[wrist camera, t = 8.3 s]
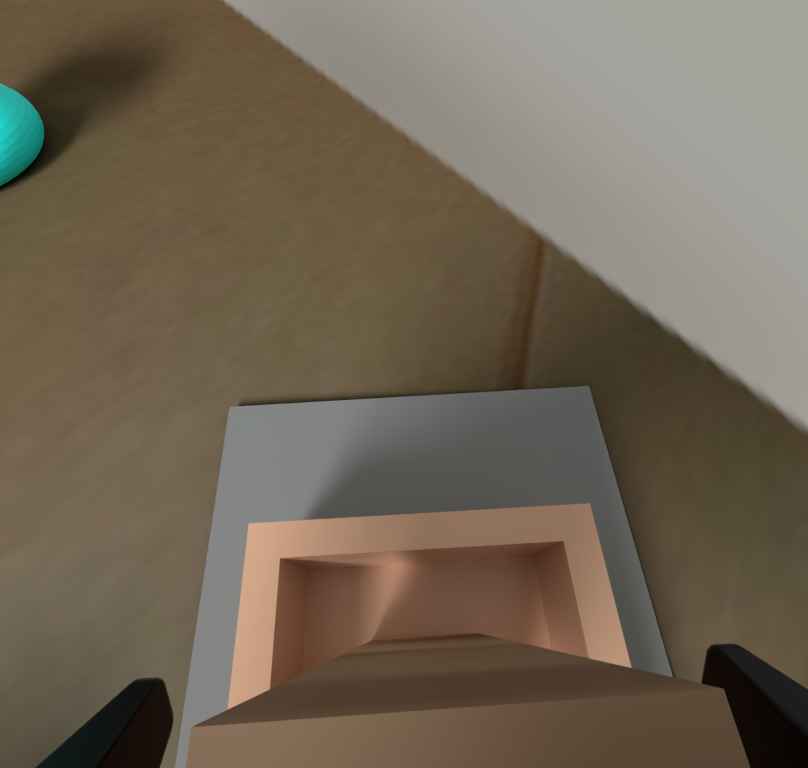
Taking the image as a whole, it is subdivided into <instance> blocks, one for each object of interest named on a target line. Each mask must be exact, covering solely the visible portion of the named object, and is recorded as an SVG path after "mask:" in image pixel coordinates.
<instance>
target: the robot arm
mask: <svg viewBox="0 0 808 768" xmlns="http://www.w3.org/2000/svg"><path fill="white" fill-rule="evenodd" d="M701 683H702V684H705V685H709V686H713V687H718V688H722V689H724V691H725V694H726V697H727V700H728V703H729V706H730V709H731V712H732V715H733V718H734V721H735V723H736V726H737V729H738V732H739V735H740V738H741V741H742V744H743V747H744V750H745V753H746V756H747V759H748V762H749V765H750V768H808V689H806V688H805V687H803V686H802V685H800V684H799V683H797V682H796V681H794V680H792V679H791V678H789V677H788V676H786V675H785V674H783V673H782V672H780V671H778V670H777V669H775V668H774V667H772V666H771V665H769V664H768V663H766V662H764V661H763V660H761V659H760V658H758V657H757V656H755V655H754V654H752V653H750V652H749V651H747V650H746V649H744V648H742V647H741V646H739V645H736V644H716V645H711V646H710V647H709V648H708V649H707V653H706V658H705V664H704V669H703V675H702V681H701ZM172 726H173V710H172V707H171V703H170V699H169V696H168V692H167V688H166V685H165V682H164V680H162V679H161V678H158V677H157V678H141V679H137V680H135V681H133V682H132V683H130V684H129V685H128V686H127V687H126V688H125V689H123V690H122V691H121V692H120V693H119V694H118V695H117V696H116V697H114V698H113V699H112V700H111V701H110V702H109V703H108V704H107V705H105V706H104V707H103V708H102V709H101V710H100V711H99V712H98V713H96V714H95V715H94V716H93V717H92V718H91V719H90V720H89V721H87V722H86V723H85V724H84V725H83V726H82V727H81V728H80V729H78V730H77V731H76V732H75V733H74V734H73V735H72V736H71V737H69V738H68V739H67V740H66V741H65V742H64V743H63V744H62V745H60V746H59V747H58V748H57V749H56V750H55V751H54V752H53V753H51V754H50V755H49V756H48V757H47V758H46V759H45V760H43V761H42V762H41V763H40V764H39V765H38V766H37V767H36V768H160V765H161V762H162V759H163V756H164V753H165V750H166V747H167V743H168V740H169V737H170V734H171V731H172Z"/></svg>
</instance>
